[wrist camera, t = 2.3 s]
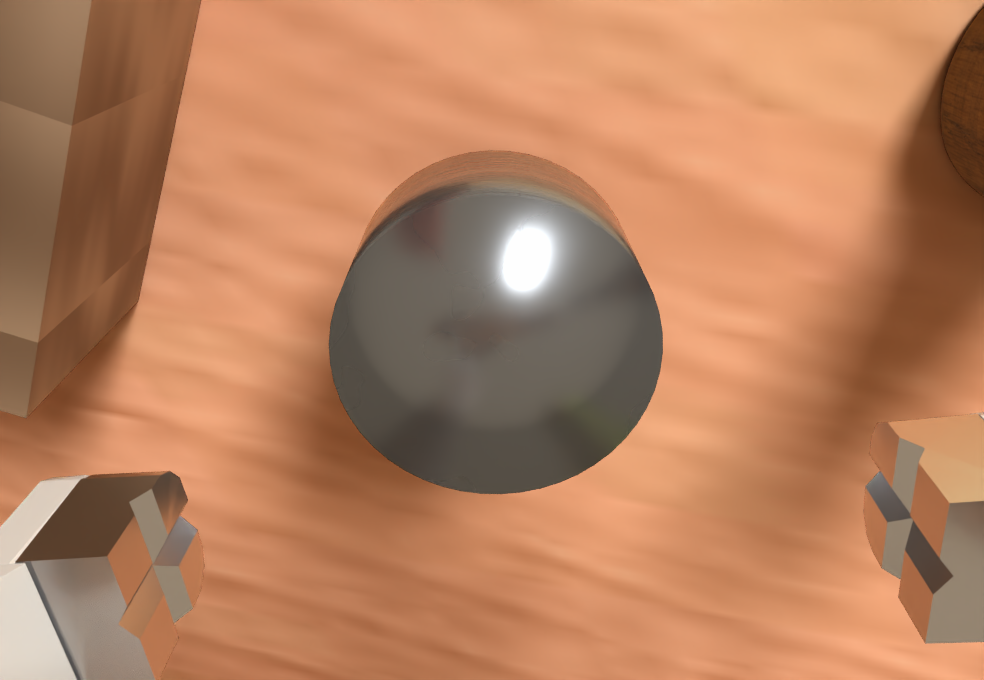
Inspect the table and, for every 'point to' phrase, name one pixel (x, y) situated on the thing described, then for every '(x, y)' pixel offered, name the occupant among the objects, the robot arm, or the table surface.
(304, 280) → the table surface
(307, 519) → the table surface
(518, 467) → the grey domed cylinder
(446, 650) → the table surface
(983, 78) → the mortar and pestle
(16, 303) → the block
